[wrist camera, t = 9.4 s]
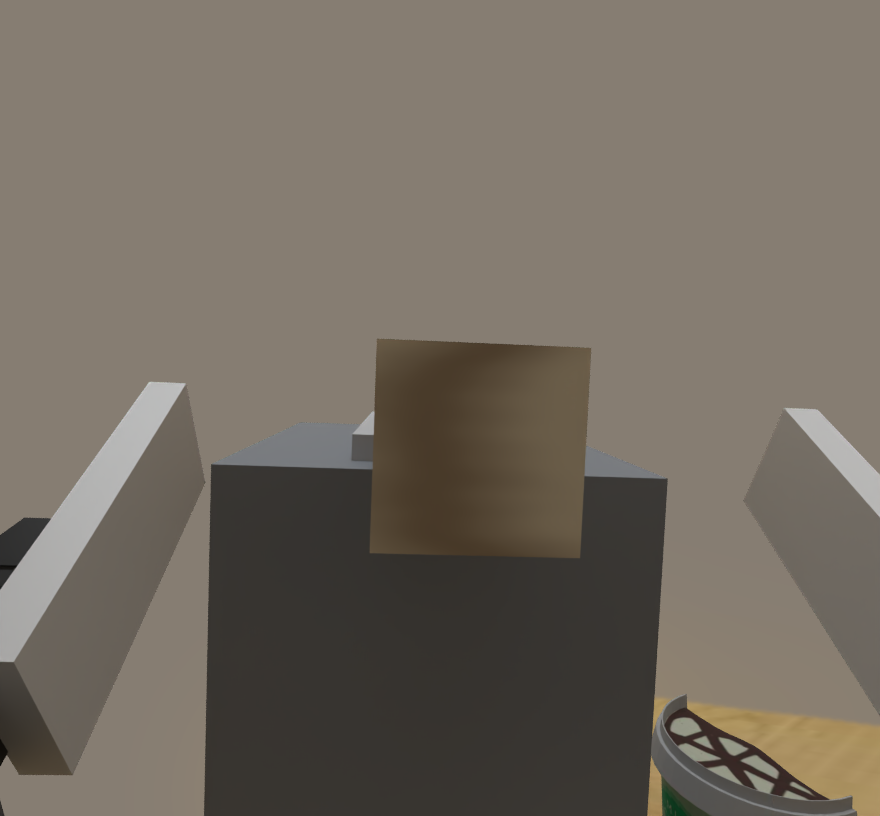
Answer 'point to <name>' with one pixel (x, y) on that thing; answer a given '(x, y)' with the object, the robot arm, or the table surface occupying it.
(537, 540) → the switch bar
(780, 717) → the table surface
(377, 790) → the cabinet
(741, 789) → the food container
